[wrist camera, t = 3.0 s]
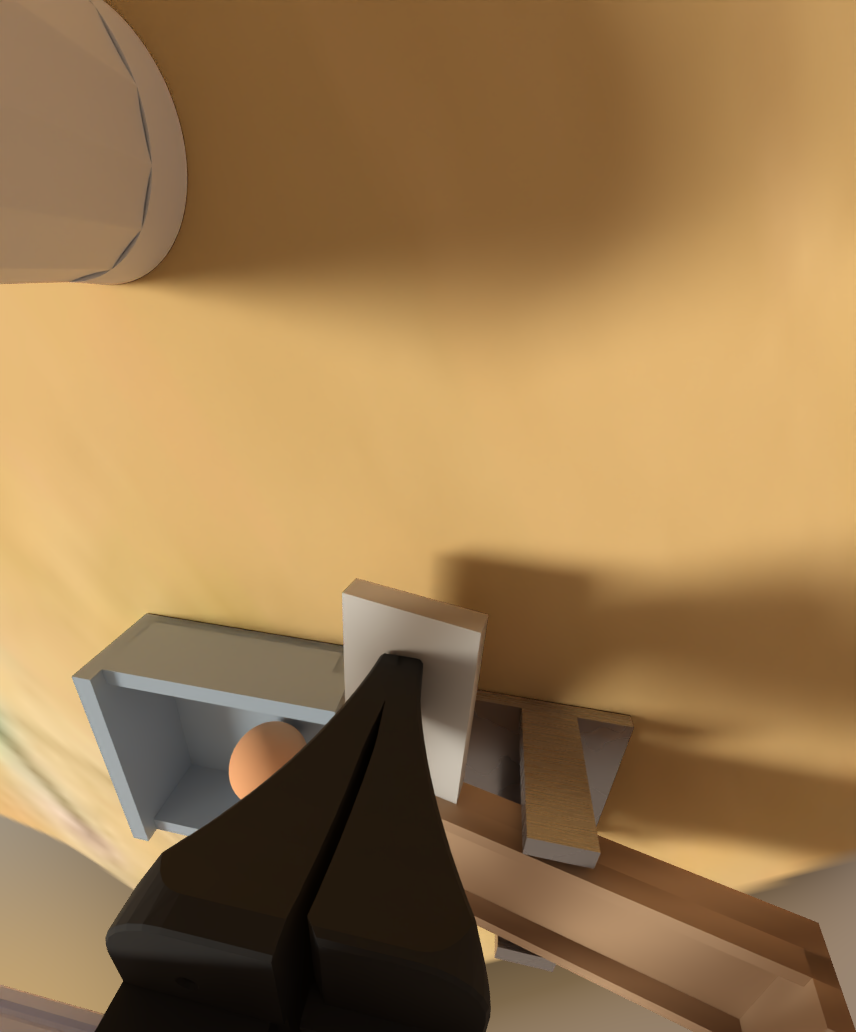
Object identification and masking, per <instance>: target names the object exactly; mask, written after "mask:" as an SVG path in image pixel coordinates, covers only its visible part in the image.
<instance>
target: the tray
mask: <svg viewBox="0 0 856 1032" xmlns="http://www.w3.org/2000/svg"><path fill="white" fill-rule="evenodd" d="M72 679H73V682H74V684H75V687H76V689H77V692H78V695H79V697H80V700H81V702H82V705H83V707H84V710H85V713H86V715H87V718H88V720H89V723H90V726H91V728H92V731H93V733H94V736H95V738H96V741H97V744H98V746H99V749H100V751H101V754H102V757H103V759H104V762H105V764H106V767H107V769H108V772H109V775H110V777H111V780H112V782H113V785H114V788H115V790H116V793H117V795H118V798H119V800H120V803H121V806H122V808H123V811H124V813H125V816H126V819H127V821H128V824H129V826H130V829H131V832H132V834H133V837H134V838H138V839H142V840H146V841H149V840H150V838H151V837H152V835H153V834H154V832H155V831H156V829H160V830H164V831H169V832H173V833H177V834H182V835H186V836H189V835H191V834H192V833H194V832H195V831H197V830H198V829H200V828H201V827H203V826H205V825H206V824H208V823H209V822H211V821H212V820H213V819H215V818H216V817H218V816H219V815H221V814H222V813H223V812H225V811H226V810H227V809H229V808H230V807H232V806H233V805H234V804H236V803H237V802H238V801H240V800H241V799H240V798H239V797H238V796H237V795H236V794H235V792H234V790H233V789H232V786H231V784H230V779H229V763H230V759H231V755H232V753H233V750H234V748H235V747H236V745H237V743H238V742H239V740H240V739H241V738H242V737H243V736H244V735H245V734H246V733H247V732H248V731H249V730H251V729H252V728H254V727H256V726H257V725H260V724H262V723H266V722H271V721H280V722H285V723H288V724H290V725H292V726H293V727H295V728H296V729H297V730H298V731H299V732H300V733H301V734H302V736H303V737H304V739H305V741H306V744H307V743H308V742H309V741H310V740H311V739H312V738H313V737H314V736H315V735H316V734H317V733H318V732H319V731H320V730H321V729H322V728H323V727H324V726H325V725H326V724H327V723H328V722H329V720H330V719H331V718H332V717H333V716H334V715H335V714H336V713H337V712H338V711H339V709H340V708H341V707H342V706H343V705H344V704H345V679H344V646H341V645H335V644H329V643H323V642H316V641H310V640H304V639H298V638H292V637H286V636H280V635H274V634H268V633H262V632H256V631H250V630H244V629H238V628H231V627H225V626H219V625H213V624H207V623H201V622H195V621H189V620H183V619H177V618H171V617H165V616H159V615H152V614H145V615H144V616H143V617H142V618H141V619H139V620H138V621H137V622H136V623H135V624H133V625H132V626H131V627H130V628H129V629H127V630H126V631H125V632H124V633H123V634H122V635H120V636H119V637H118V638H117V639H116V640H114V641H113V642H112V643H111V644H110V645H108V646H107V647H106V648H105V649H104V650H102V651H101V652H100V653H99V654H98V655H97V656H95V657H94V658H93V659H92V660H91V661H89V662H88V663H87V664H86V665H85V666H83V667H82V668H81V669H80V670H79V671H77V672H76V673H75V674H74V675H73V676H72Z"/></svg>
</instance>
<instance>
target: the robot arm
mask: <svg viewBox="0 0 856 1032" xmlns="http://www.w3.org/2000/svg"><path fill="white" fill-rule="evenodd" d="M422 674H423V663H422V661H421V660H420V659H417V658H411V657H405V656H398V655H392V654H386V653H384V654H382V655H381V656H380V657H379V659H378V660H377V662H376V663H375V665H374V666H373V668H372V669H371V671H370V672H369V673H368V675H367V676H366V677H365V679H364V680H363V681H362V683H361V684H360V685H359V687H358V688H357V689H356V690H355V692H354V693H353V694H352V695H351V696H350V698H349V699H348V700H347V701H346V702H345V704H344V705H343V706H342V707H341V708H340V709H339V711H338V712H337V713H336V714H335V715H334V716H333V717H332V718H331V719H330V720H329V722H328V723H327V724H326V725H325V726H324V727H323V728H322V729H321V730H320V731H319V732H318V733H317V734H316V735H315V736H314V737H313V738H312V739H311V740H310V741H309V742H308V743H307V744H306V745H305V746H304V747H303V748H302V749H301V750H300V751H299V752H298V753H297V754H296V755H295V756H293V757H292V758H291V759H290V760H289V761H288V762H287V763H286V764H285V765H283V766H282V767H281V768H280V769H279V770H277V771H276V772H275V773H274V774H273V775H272V776H270V777H269V778H268V779H267V780H266V781H264V782H263V783H262V784H261V785H259V786H258V787H257V788H256V789H254V790H253V791H252V792H251V793H249V794H248V795H246V796H245V797H244V798H242V799H241V800H240V801H238V802H237V803H236V804H234V805H233V806H232V807H230V808H229V809H227V810H226V811H225V812H223V813H222V814H221V815H219V816H218V817H216V818H215V819H213V820H212V821H211V822H209V823H208V824H206V825H205V826H203V827H201V828H200V829H198V830H197V831H195V832H194V833H192V834H191V835H189V836H187V837H186V838H184V839H183V840H181V841H180V842H178V843H177V844H175V845H173V846H172V847H170V848H169V849H167V850H165V851H164V852H163V853H162V854H161V855H160V856H159V857H158V859H157V860H156V861H155V863H154V864H153V865H152V867H151V868H150V869H149V870H148V872H147V873H146V874H145V876H144V877H143V878H142V880H141V881H140V882H139V884H138V885H137V886H136V888H135V889H134V891H133V893H132V894H131V896H130V897H129V899H128V900H127V902H126V903H125V905H124V907H123V908H122V910H121V911H120V913H119V914H118V916H117V918H116V919H115V921H114V922H113V924H112V925H111V927H110V928H109V930H108V932H107V935H106V946H107V950H108V953H109V955H110V957H111V959H112V960H113V962H114V964H115V966H116V968H117V970H118V972H119V974H120V975H121V977H122V979H123V983H122V984H121V986H120V988H119V990H118V991H117V993H116V995H115V997H114V998H113V1000H112V1002H111V1004H110V1005H109V1007H108V1009H107V1011H106V1013H105V1014H102V1013H99V1012H95V1011H92V1010H88V1009H84V1008H81V1007H77V1006H74V1005H70V1004H66V1003H63V1002H60V1001H56V1000H52V999H49V998H46V997H42V996H38V995H35V994H31V993H28V992H24V991H20V990H17V989H14V988H10V987H6V986H3V985H0V1032H486V1029H487V1026H488V1022H489V1018H490V1010H491V1006H490V991H489V984H488V977H487V972H486V966H485V961H484V957H483V952H482V947H481V943H480V938H479V934H478V929H477V923H476V920H475V917H474V914H473V912H472V909H471V906H470V904H469V901H468V899H467V896H466V893H465V890H464V888H463V885H462V882H461V880H460V877H459V874H458V871H457V868H456V865H455V862H454V859H453V856H452V853H451V850H450V846H449V843H448V840H447V836H446V833H445V830H444V826H443V823H442V819H441V816H440V812H439V809H438V805H437V801H436V797H435V793H434V788H433V784H432V779H431V775H430V770H429V765H428V759H427V754H426V747H425V741H424V734H423V726H422V715H421V687H422Z"/></svg>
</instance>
